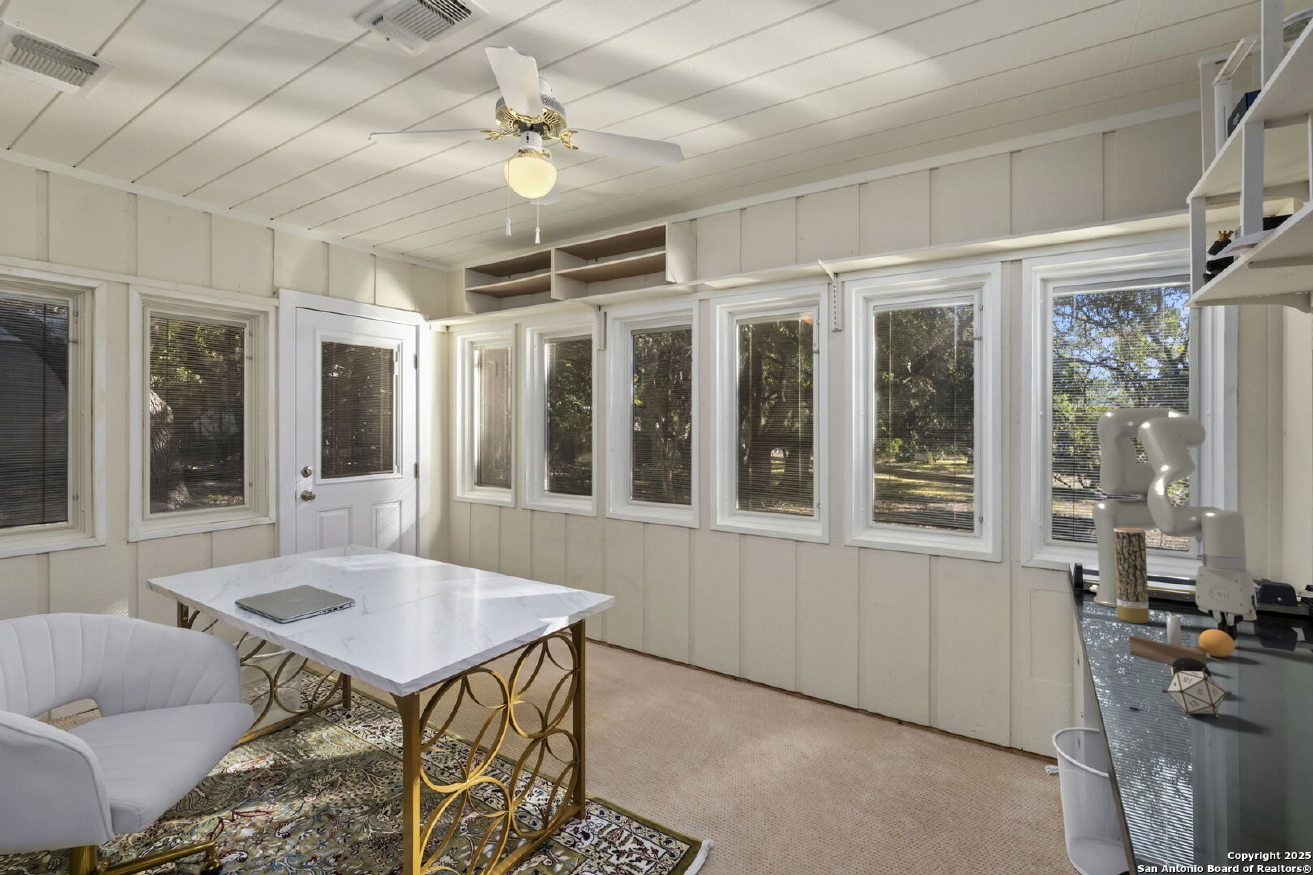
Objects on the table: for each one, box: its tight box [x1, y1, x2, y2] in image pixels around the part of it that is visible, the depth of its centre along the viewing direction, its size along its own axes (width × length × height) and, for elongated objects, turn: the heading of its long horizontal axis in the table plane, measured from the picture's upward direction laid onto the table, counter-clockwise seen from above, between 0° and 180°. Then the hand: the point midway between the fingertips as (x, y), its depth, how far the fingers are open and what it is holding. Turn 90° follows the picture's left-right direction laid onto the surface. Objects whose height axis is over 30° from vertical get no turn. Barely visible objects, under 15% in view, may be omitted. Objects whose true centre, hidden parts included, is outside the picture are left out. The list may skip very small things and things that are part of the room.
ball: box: [1198, 628, 1235, 658], centre depth 139 cm, size 6×6×6 cm
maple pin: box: [1189, 645, 1208, 655], centre depth 138 cm, size 2×2×8 cm
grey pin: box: [1166, 615, 1182, 647], centre depth 142 cm, size 2×2×8 cm
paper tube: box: [1114, 528, 1150, 624], centre depth 168 cm, size 7×7×25 cm
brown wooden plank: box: [1129, 635, 1208, 667], centre depth 136 cm, size 2×14×4 cm, turn 23°
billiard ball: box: [1170, 658, 1212, 679], centre depth 122 cm, size 6×6×6 cm
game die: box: [1160, 667, 1233, 716], centre depth 111 cm, size 9×8×10 cm
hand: (1227, 640), depth 146 cm, fingers closed
